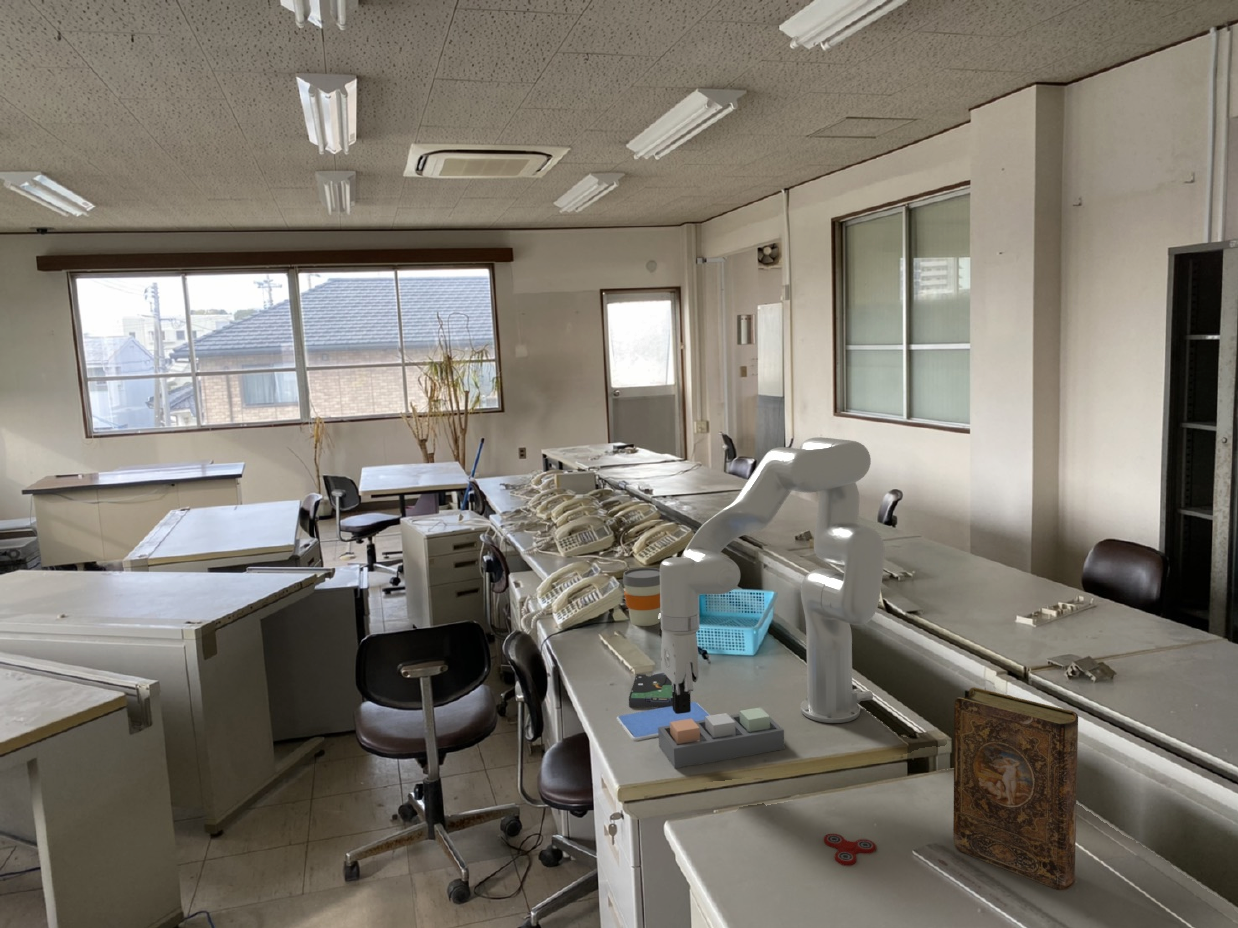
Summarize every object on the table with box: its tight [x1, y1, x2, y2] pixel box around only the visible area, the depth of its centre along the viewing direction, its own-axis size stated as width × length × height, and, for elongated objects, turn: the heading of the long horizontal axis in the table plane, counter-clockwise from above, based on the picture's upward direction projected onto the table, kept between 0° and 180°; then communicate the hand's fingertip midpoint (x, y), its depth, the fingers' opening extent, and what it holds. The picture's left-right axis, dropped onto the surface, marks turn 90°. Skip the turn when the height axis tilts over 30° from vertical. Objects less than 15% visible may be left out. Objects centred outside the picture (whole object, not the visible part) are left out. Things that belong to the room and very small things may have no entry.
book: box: [952, 686, 1079, 891], centre depth 126 cm, size 16×6×25 cm, turn 45°
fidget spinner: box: [823, 833, 877, 866], centre depth 133 cm, size 8×7×1 cm
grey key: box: [705, 712, 735, 738], centre depth 169 cm, size 5×5×2 cm
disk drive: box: [628, 673, 675, 709], centre depth 197 cm, size 10×3×15 cm
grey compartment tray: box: [658, 713, 785, 769], centre depth 169 cm, size 23×10×4 cm, turn 105°
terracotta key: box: [670, 719, 700, 744], centre depth 167 cm, size 5×5×2 cm
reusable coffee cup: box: [622, 567, 661, 627], centre depth 252 cm, size 12×12×15 cm
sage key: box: [739, 707, 771, 732], centre depth 170 cm, size 5×5×2 cm
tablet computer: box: [616, 701, 711, 742], centre depth 182 cm, size 19×13×1 cm, turn 108°
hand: (681, 711), depth 166 cm, fingers closed
